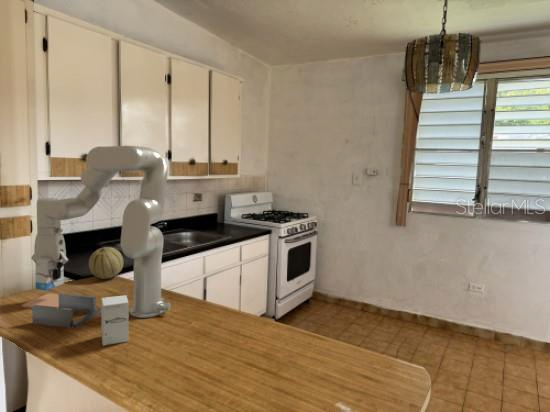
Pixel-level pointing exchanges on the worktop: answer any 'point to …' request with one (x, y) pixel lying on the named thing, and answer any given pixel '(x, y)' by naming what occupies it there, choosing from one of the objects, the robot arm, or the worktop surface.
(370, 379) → the worktop surface
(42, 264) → the ink box
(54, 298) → the plate
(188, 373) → the worktop surface
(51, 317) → the grey frame rack
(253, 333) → the worktop surface
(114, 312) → the supplement box
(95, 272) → the cantaloupe
